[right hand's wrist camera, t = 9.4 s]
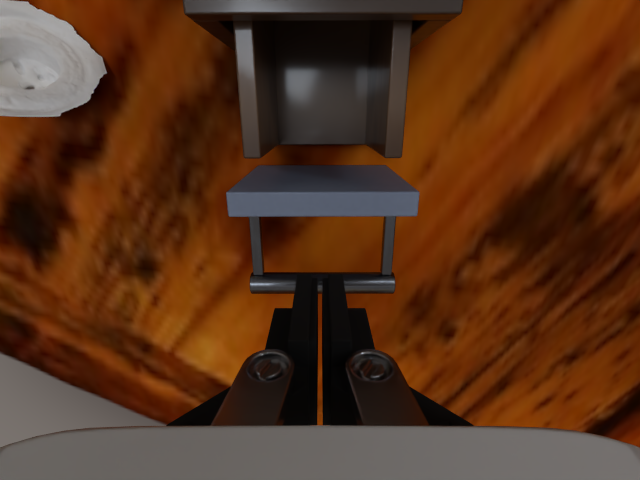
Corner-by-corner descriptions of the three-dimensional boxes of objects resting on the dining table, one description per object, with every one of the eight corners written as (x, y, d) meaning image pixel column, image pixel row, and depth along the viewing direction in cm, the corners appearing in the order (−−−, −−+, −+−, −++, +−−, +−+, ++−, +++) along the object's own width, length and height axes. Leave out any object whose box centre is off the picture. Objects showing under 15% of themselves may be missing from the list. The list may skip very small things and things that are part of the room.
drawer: (380, 259, 26) (406, 324, 18) (264, 259, 26) (238, 324, 18) (398, -32, 20) (452, -131, 12) (245, -31, 20) (193, -130, 12)
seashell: (69, 75, 26) (-96, 33, 20) (89, 17, 23) (-98, -55, 17) (96, 162, 24) (-77, 146, 18) (121, 111, 21) (-76, 70, 15)
